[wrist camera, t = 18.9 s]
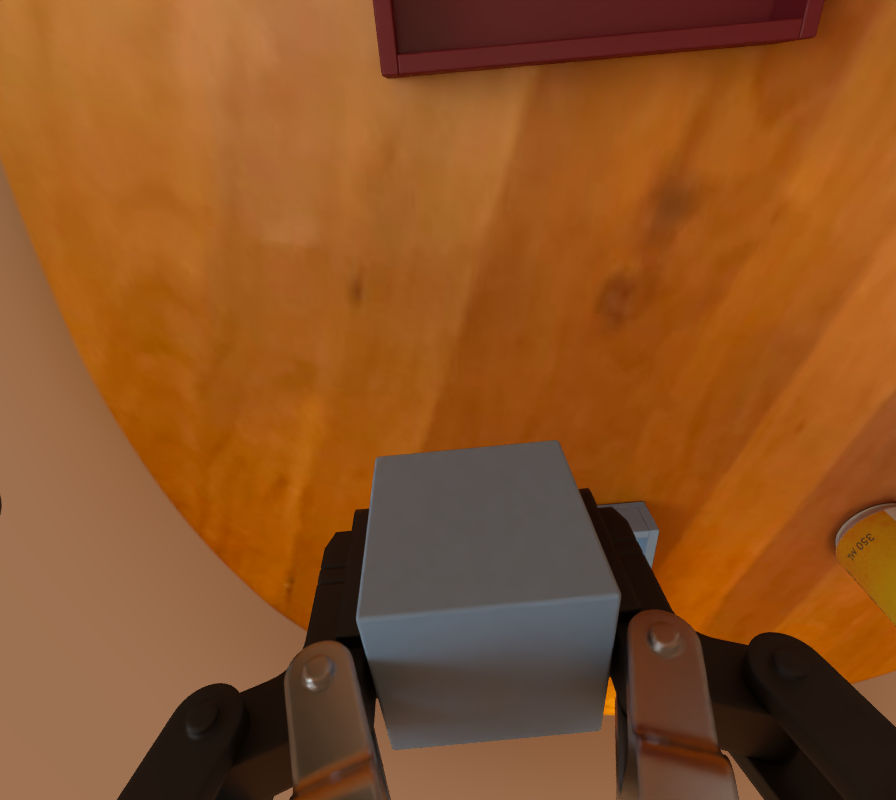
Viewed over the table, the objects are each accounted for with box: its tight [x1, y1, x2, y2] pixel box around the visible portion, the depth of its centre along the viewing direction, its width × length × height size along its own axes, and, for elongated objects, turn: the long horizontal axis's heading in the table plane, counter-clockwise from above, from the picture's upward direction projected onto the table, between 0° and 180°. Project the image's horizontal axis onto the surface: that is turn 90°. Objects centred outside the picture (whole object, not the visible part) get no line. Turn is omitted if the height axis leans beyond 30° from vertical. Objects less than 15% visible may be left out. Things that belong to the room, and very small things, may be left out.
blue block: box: [356, 440, 621, 750], centre depth 11 cm, size 4×4×4 cm
